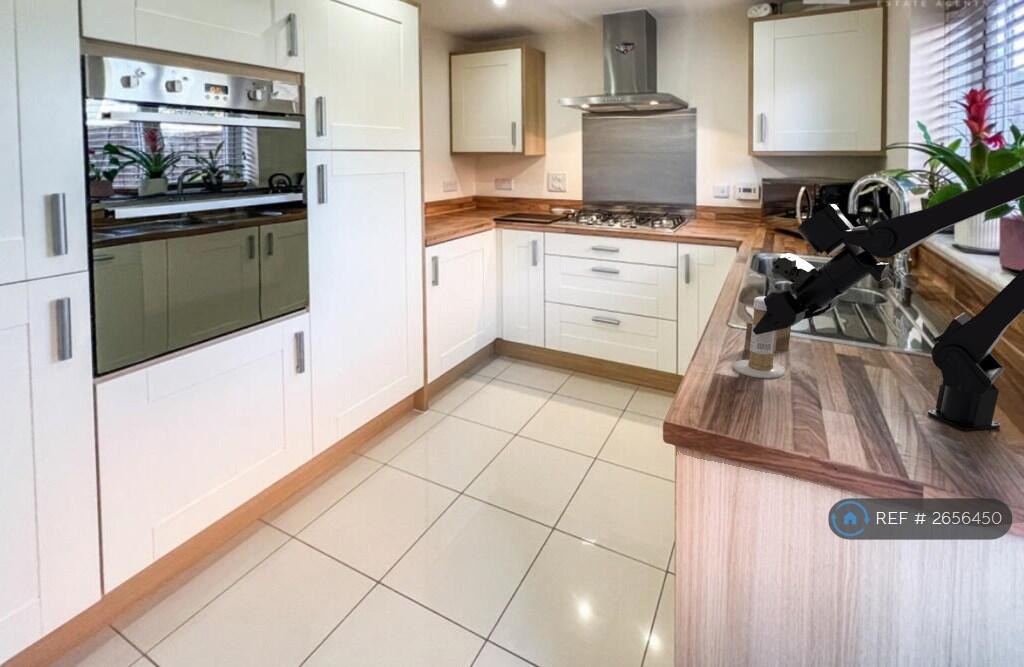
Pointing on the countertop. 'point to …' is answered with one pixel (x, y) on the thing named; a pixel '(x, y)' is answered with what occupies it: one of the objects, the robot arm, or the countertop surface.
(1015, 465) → the countertop surface
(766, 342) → the sprinkles bottle
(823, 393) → the countertop surface
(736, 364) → the stone coaster
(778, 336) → the walnut block
